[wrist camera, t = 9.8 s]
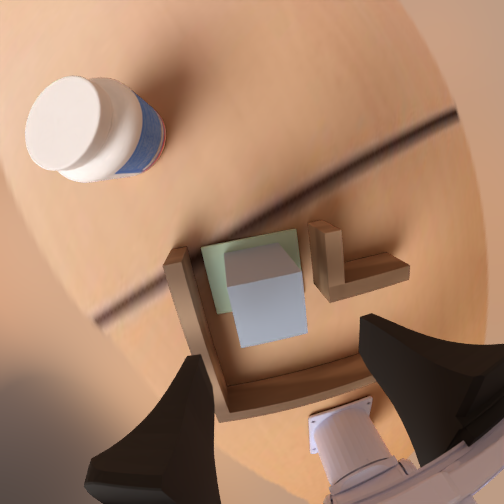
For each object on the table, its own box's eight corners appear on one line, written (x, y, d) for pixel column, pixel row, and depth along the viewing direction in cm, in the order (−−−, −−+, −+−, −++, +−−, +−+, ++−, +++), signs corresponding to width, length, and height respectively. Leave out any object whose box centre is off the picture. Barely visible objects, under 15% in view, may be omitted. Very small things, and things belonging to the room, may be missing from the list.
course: (380, 353, 26) (396, 373, 22) (217, 396, 24) (219, 422, 21) (385, 208, 21) (410, 216, 18) (171, 249, 20) (162, 265, 16)
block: (284, 291, 21) (307, 333, 16) (234, 302, 21) (241, 348, 16) (277, 242, 20) (301, 271, 15) (223, 253, 20) (226, 287, 14)
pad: (302, 294, 22) (304, 295, 22) (217, 312, 22) (217, 314, 21) (295, 228, 20) (296, 229, 20) (201, 246, 20) (200, 248, 20)
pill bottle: (157, 93, 16) (110, 36, 7) (176, 161, 18) (137, 154, 9) (90, 122, 16) (9, 99, 7) (107, 187, 18) (28, 208, 9)
